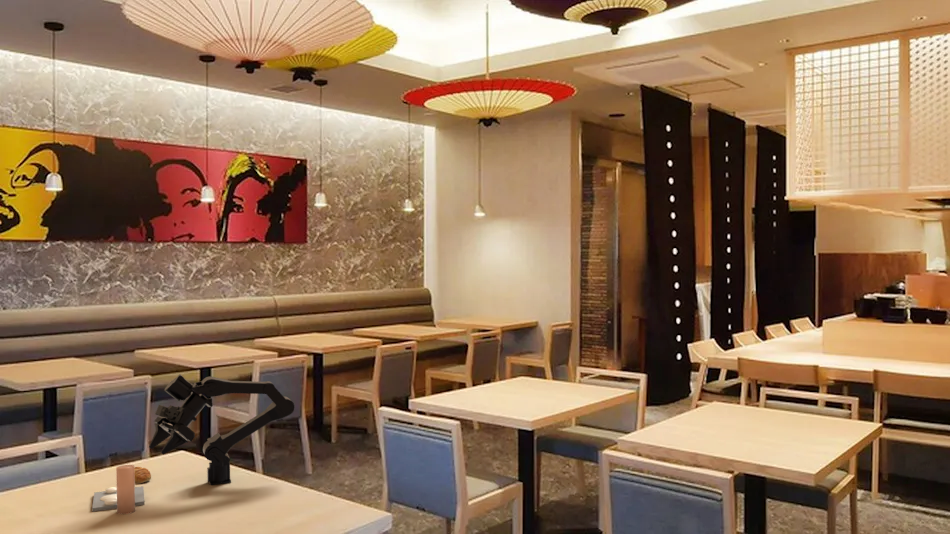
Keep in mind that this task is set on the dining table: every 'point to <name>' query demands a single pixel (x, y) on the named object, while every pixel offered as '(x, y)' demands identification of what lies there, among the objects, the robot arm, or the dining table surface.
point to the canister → (125, 489)
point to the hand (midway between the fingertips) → (155, 450)
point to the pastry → (141, 475)
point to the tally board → (114, 499)
